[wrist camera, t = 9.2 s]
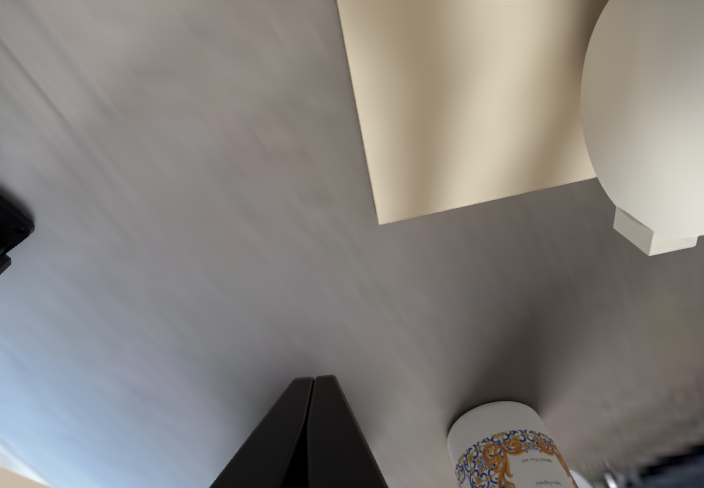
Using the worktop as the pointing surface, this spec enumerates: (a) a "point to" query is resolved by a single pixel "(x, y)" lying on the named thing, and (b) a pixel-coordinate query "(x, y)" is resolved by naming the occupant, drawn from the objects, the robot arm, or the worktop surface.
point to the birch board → (467, 98)
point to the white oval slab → (648, 118)
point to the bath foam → (505, 449)
